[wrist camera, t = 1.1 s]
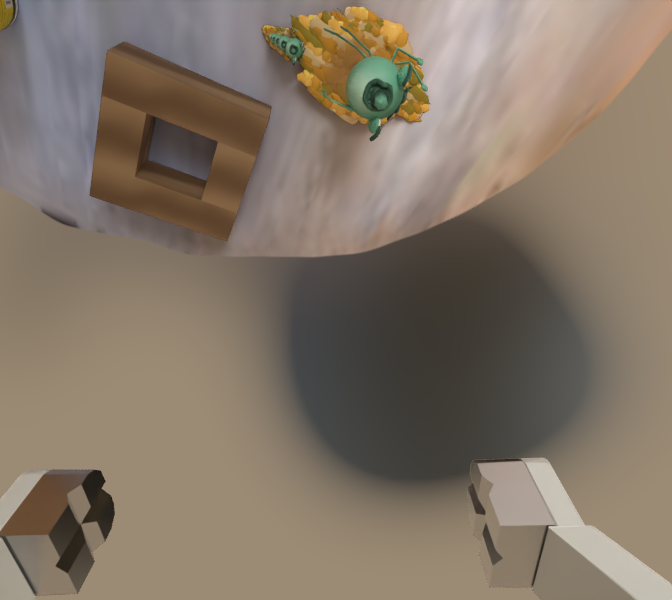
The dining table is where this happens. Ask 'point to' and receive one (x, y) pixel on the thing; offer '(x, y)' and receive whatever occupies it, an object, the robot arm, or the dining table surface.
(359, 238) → the dining table surface
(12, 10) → the supplement bottle
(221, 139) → the socket block
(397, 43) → the green creature figurine
